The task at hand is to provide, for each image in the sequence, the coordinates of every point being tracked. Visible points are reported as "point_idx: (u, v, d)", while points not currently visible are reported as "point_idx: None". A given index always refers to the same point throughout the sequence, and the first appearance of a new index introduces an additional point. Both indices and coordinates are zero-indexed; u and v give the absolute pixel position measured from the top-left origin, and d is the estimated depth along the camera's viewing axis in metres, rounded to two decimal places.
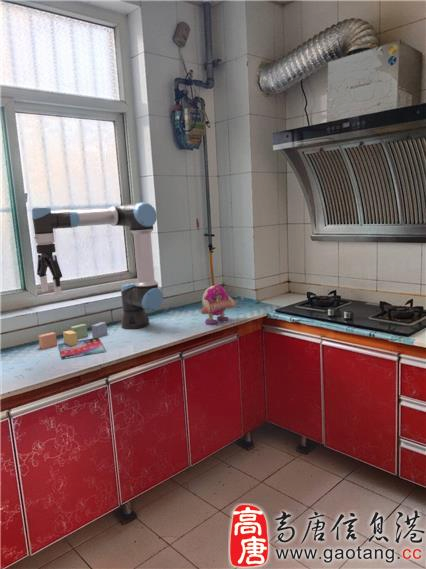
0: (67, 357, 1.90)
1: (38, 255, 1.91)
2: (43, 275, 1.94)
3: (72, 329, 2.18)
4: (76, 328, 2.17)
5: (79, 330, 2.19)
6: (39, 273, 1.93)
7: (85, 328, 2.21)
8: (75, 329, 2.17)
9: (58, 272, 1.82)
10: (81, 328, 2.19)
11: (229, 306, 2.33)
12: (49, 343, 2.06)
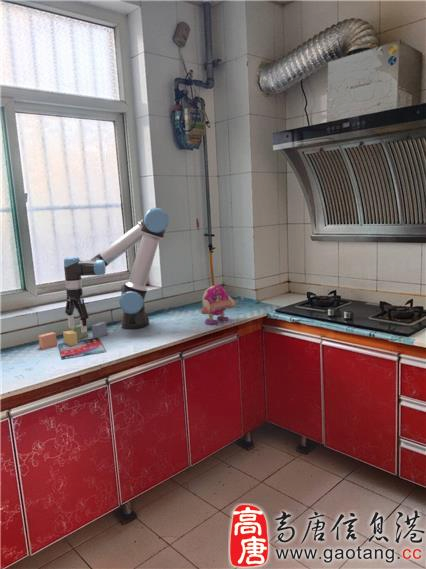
0: (67, 357, 1.90)
1: (67, 297, 2.21)
2: (70, 314, 2.24)
3: (72, 329, 2.18)
4: (76, 328, 2.17)
5: (79, 330, 2.19)
6: (67, 312, 2.23)
7: None
8: (75, 329, 2.17)
9: (85, 314, 2.12)
10: None
11: (229, 306, 2.33)
12: (49, 343, 2.06)
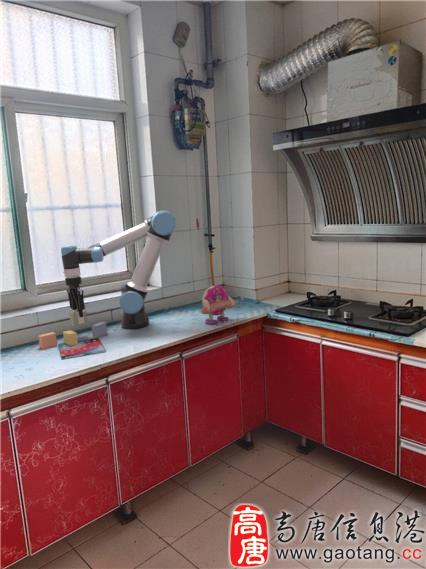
0: (67, 357, 1.90)
1: (67, 289, 2.20)
2: (75, 307, 2.20)
3: (71, 315, 2.16)
4: (75, 314, 2.16)
5: None
6: (72, 307, 2.20)
7: (84, 314, 2.19)
8: (74, 315, 2.16)
9: (82, 305, 2.14)
10: None
11: (229, 306, 2.33)
12: (49, 343, 2.06)
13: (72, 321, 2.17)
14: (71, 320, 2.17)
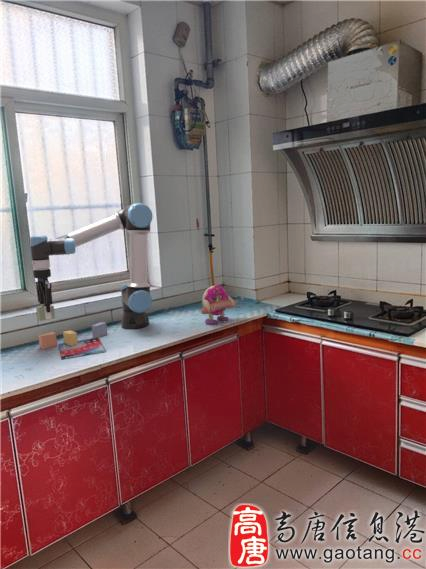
0: (67, 357, 1.90)
1: (35, 282, 2.08)
2: (43, 302, 2.08)
3: (38, 310, 2.04)
4: (42, 309, 2.03)
5: None
6: (39, 301, 2.07)
7: (52, 309, 2.07)
8: (41, 310, 2.03)
9: (49, 300, 2.02)
10: None
11: (229, 306, 2.33)
12: (49, 343, 2.06)
13: (38, 315, 2.04)
14: (38, 314, 2.04)
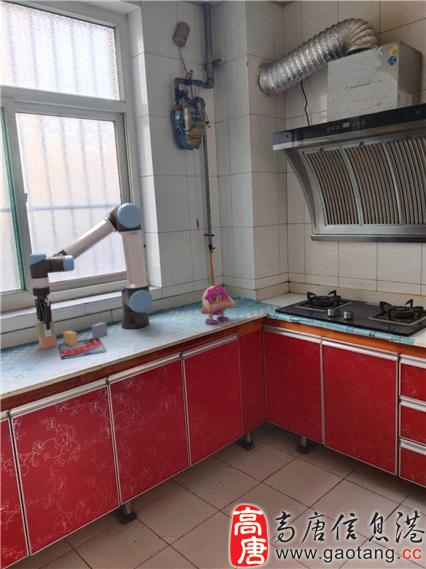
0: (67, 357, 1.90)
1: None
2: (43, 319, 2.08)
3: (37, 326, 2.03)
4: (41, 325, 2.03)
5: None
6: (39, 318, 2.07)
7: (51, 325, 2.07)
8: (40, 326, 2.03)
9: (49, 318, 2.02)
10: None
11: (229, 306, 2.33)
12: (49, 343, 2.06)
13: (38, 331, 2.04)
14: (37, 330, 2.04)
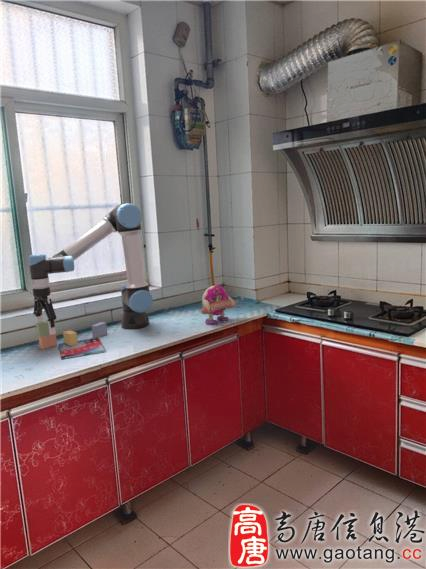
0: (67, 357, 1.90)
1: (34, 297, 2.07)
2: (39, 315, 2.11)
3: (37, 326, 2.03)
4: (41, 325, 2.03)
5: (45, 327, 2.04)
6: (35, 313, 2.10)
7: None
8: (40, 326, 2.03)
9: (52, 314, 1.99)
10: (47, 325, 2.05)
11: (229, 306, 2.33)
12: (49, 343, 2.06)
13: (38, 331, 2.04)
14: (37, 330, 2.04)
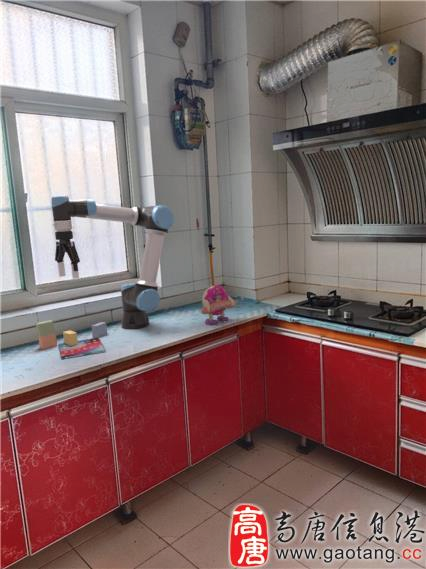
0: (67, 357, 1.90)
1: (56, 242, 2.01)
2: (61, 261, 2.05)
3: (37, 326, 2.03)
4: (41, 325, 2.03)
5: (45, 327, 2.04)
6: (57, 259, 2.04)
7: (51, 325, 2.07)
8: (40, 326, 2.03)
9: (76, 257, 1.92)
10: (47, 325, 2.05)
11: (229, 306, 2.33)
12: (49, 343, 2.06)
13: (38, 331, 2.04)
14: (37, 330, 2.04)
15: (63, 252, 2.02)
